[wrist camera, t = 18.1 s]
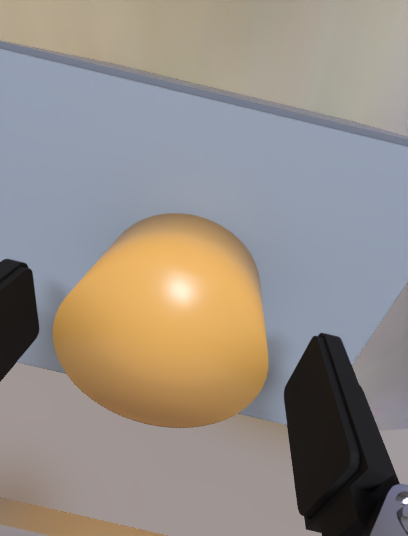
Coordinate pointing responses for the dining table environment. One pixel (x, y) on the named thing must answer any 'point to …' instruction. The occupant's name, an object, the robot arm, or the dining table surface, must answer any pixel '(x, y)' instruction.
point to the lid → (200, 201)
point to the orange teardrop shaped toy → (167, 324)
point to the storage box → (208, 93)
